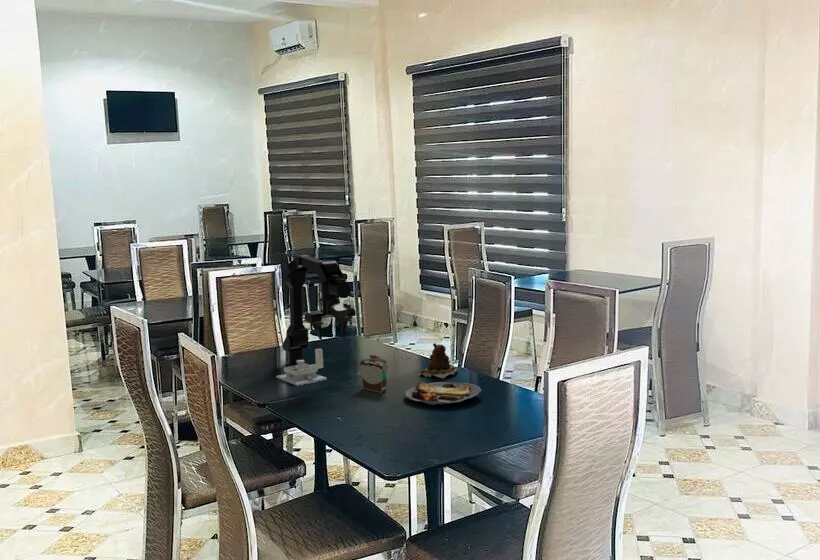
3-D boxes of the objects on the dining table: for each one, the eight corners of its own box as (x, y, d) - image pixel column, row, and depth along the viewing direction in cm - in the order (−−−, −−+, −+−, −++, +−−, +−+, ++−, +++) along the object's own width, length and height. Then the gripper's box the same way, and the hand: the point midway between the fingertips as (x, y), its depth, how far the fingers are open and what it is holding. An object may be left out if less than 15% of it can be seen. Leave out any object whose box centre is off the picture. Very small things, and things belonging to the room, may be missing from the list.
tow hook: (389, 370, 298) (380, 356, 295) (371, 389, 293) (362, 374, 290) (378, 367, 303) (369, 353, 300) (361, 386, 298) (351, 371, 295)
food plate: (394, 405, 255) (393, 394, 254) (418, 386, 276) (418, 376, 276) (469, 410, 246) (468, 399, 246) (488, 390, 268) (487, 380, 267)
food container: (397, 389, 272) (396, 361, 271) (384, 393, 268) (383, 364, 267) (372, 384, 281) (371, 356, 280) (359, 387, 276) (358, 359, 275)
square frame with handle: (315, 365, 300) (314, 347, 299) (328, 369, 293) (327, 350, 292) (284, 371, 292) (283, 352, 291) (296, 375, 285) (294, 356, 284)
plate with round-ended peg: (276, 378, 294) (275, 360, 293) (304, 372, 301) (303, 354, 300) (297, 386, 281) (296, 367, 280) (326, 380, 288) (325, 361, 288)
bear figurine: (464, 370, 297) (464, 338, 295) (445, 379, 284) (444, 346, 282) (433, 367, 304) (432, 335, 302) (412, 376, 291) (411, 343, 290)
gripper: (318, 301, 276) (320, 345, 278) (363, 294, 287) (365, 337, 289) (302, 297, 285) (305, 340, 287) (346, 292, 296) (348, 333, 298)
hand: (331, 337), depth 290 cm, fingers open, 9 cm apart
